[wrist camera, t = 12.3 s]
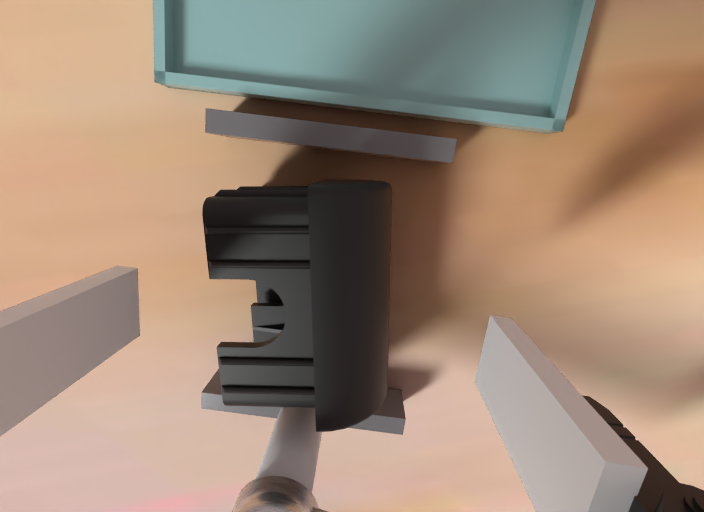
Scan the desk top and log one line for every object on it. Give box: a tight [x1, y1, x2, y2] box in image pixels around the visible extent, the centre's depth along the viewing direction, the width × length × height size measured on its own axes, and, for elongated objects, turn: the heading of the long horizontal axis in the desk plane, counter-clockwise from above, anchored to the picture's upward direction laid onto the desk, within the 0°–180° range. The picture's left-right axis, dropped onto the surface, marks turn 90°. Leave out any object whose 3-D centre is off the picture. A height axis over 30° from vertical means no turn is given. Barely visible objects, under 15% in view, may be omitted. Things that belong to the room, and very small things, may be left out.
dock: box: [201, 108, 457, 493], centre depth 16 cm, size 11×16×8 cm
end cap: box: [203, 180, 392, 432], centre depth 17 cm, size 10×7×7 cm
